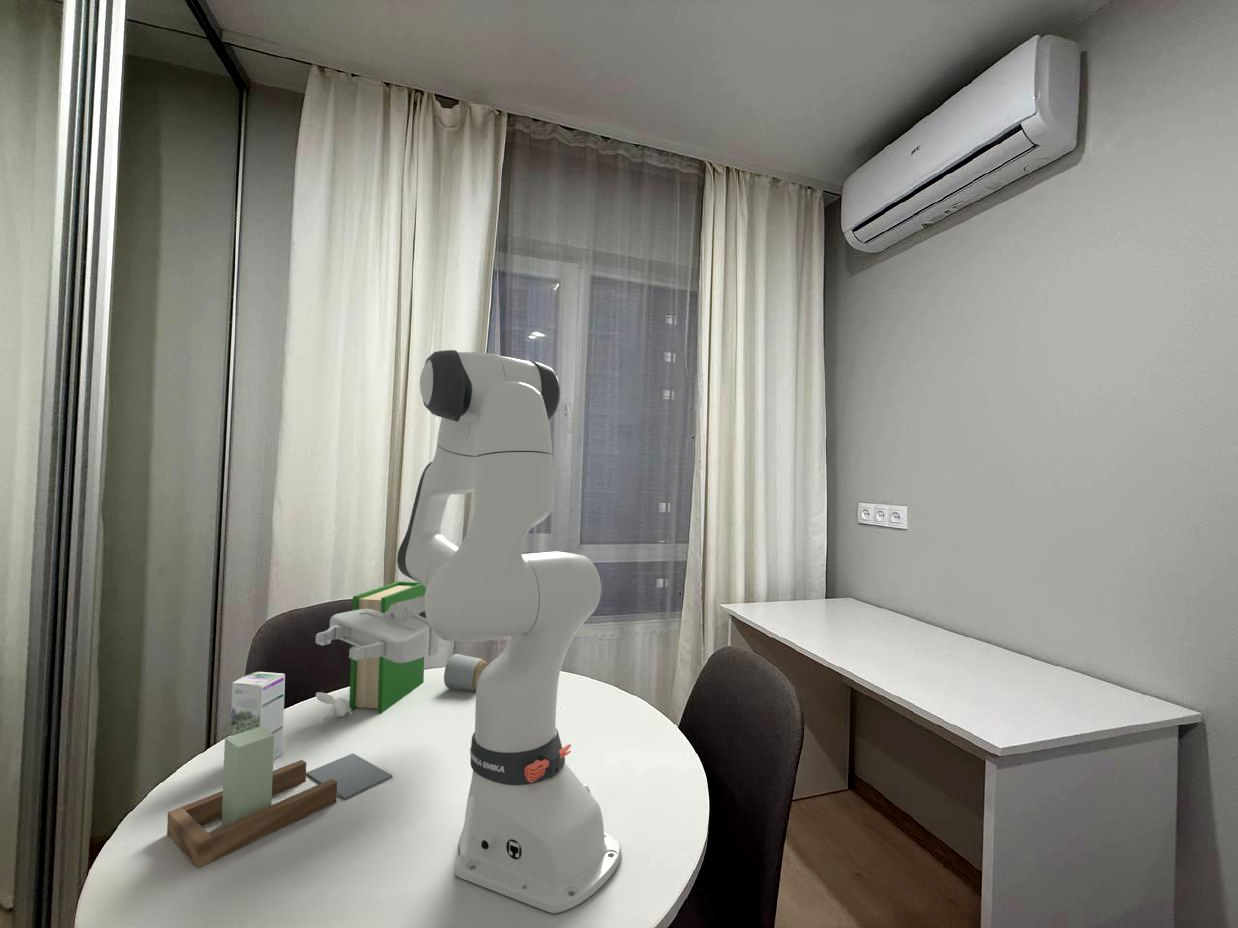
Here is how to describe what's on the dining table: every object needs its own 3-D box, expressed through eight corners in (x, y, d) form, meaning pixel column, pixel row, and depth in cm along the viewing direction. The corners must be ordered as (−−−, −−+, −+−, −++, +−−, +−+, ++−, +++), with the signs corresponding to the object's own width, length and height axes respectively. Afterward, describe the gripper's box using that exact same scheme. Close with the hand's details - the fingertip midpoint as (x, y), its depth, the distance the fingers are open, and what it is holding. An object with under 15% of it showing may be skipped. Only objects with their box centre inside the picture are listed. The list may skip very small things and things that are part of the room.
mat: (392, 776, 89) (392, 774, 89) (344, 799, 83) (344, 797, 83) (352, 754, 96) (352, 753, 96) (306, 774, 90) (306, 772, 90)
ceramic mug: (474, 696, 123) (476, 662, 123) (442, 692, 125) (443, 658, 125) (495, 680, 133) (496, 649, 134) (465, 677, 135) (466, 646, 135)
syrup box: (284, 754, 96) (287, 671, 96) (257, 771, 90) (261, 683, 91) (255, 751, 97) (258, 669, 97) (227, 768, 91) (230, 681, 91)
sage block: (270, 819, 78) (274, 734, 78) (234, 836, 74) (238, 747, 74) (256, 808, 80) (260, 726, 81) (221, 823, 77) (225, 737, 77)
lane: (336, 801, 82) (337, 781, 82) (197, 868, 68) (198, 843, 68) (301, 777, 89) (301, 759, 89) (166, 834, 74) (167, 812, 74)
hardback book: (381, 713, 113) (385, 598, 114) (349, 710, 114) (353, 596, 115) (423, 682, 131) (426, 582, 132) (395, 680, 132) (398, 581, 133)
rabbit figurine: (359, 716, 112) (327, 711, 106) (345, 730, 112) (312, 726, 105) (352, 693, 116) (320, 687, 109) (339, 706, 115) (306, 701, 109)
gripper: (373, 596, 104) (300, 613, 93) (445, 620, 94) (373, 643, 82) (372, 628, 105) (298, 649, 93) (444, 656, 94) (371, 684, 82)
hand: (334, 647), depth 87 cm, fingers open, 8 cm apart
